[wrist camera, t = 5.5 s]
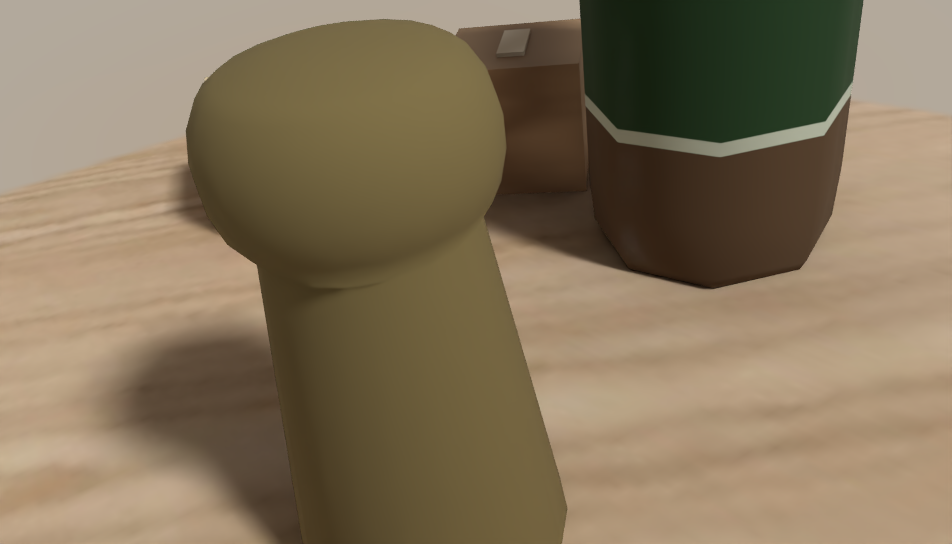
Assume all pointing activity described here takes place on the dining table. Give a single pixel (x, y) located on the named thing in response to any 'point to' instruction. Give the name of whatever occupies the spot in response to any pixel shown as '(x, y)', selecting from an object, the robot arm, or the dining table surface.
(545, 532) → the cork
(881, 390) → the dining table surface
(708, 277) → the beer bottle
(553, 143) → the walnut cube marked
